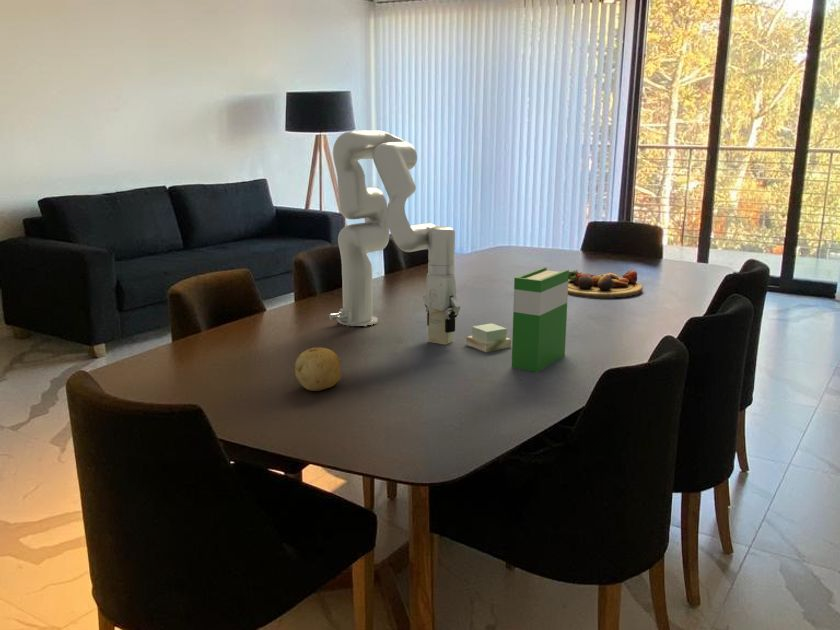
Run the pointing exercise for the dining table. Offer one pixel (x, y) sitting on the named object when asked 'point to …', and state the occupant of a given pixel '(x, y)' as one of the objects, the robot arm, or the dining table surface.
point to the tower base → (488, 344)
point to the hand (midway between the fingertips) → (440, 328)
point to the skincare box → (438, 327)
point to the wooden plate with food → (603, 285)
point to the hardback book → (539, 318)
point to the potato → (318, 369)
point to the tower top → (489, 332)
